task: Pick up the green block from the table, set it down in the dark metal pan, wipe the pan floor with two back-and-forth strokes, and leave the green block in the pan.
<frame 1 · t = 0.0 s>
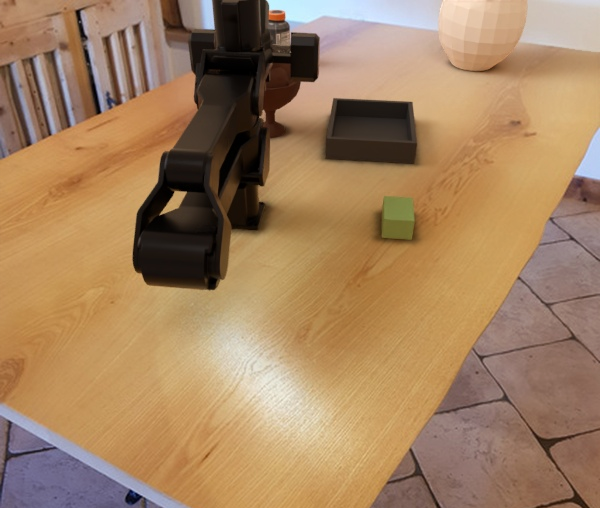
hand: (264, 39, 86), 17 cm above the table, tool horizontal, fingers open, 9 cm apart
pill bottle: (277, 66, 127), on the table
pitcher: (472, 65, 128), on the table
ice cream bowl: (270, 131, 99), on the table
green block: (396, 226, 76), on the table
pan: (370, 138, 97), on the table
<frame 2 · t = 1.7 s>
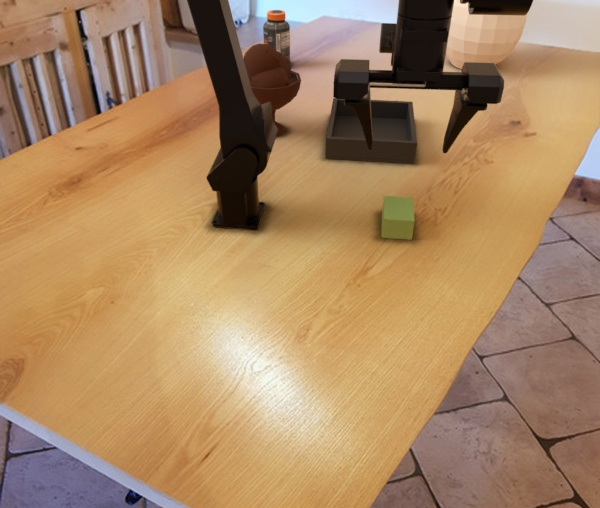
hand: (407, 150, 68), 11 cm above the table, tool pointing down, fingers open, 9 cm apart
nothing on the table moved.
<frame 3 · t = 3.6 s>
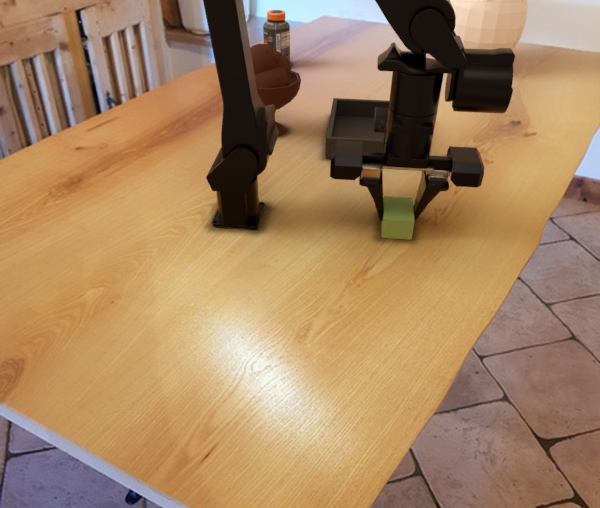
hand: (397, 220, 75), 1 cm above the table, tool pointing down, fingers closed on green block, 4 cm apart
green block: (396, 226, 76), on the table, touching gripper
everything else where it was.
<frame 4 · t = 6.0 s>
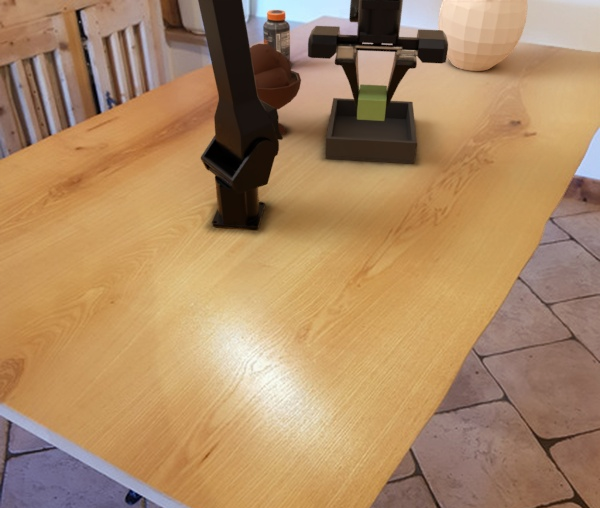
hand: (371, 105, 81), 10 cm above the table, tool pointing down, fingers closed on green block, 4 cm apart
green block: (371, 112, 82), point 9 cm above the table, touching gripper
everything else where it was.
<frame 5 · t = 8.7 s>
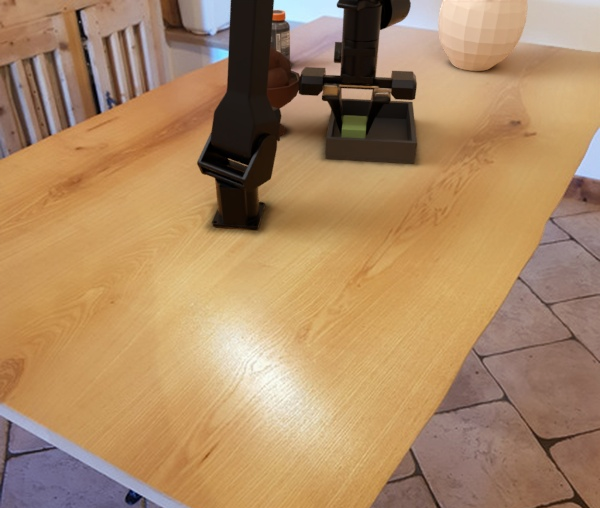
hand: (353, 133, 95), 2 cm above the table, tool pointing down, fingers closed on green block, 4 cm apart
green block: (353, 139, 95), point 1 cm above the table, touching gripper, pan
everything else where it was.
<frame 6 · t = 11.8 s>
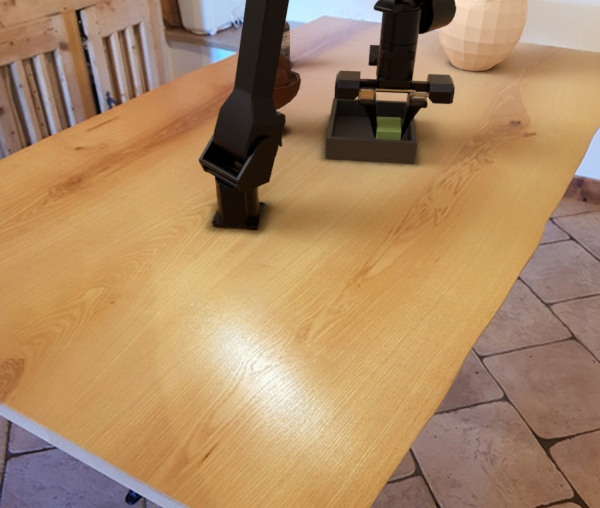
hand: (387, 137, 94), 2 cm above the table, tool pointing down, fingers closed on green block, 4 cm apart
green block: (387, 140, 94), point 1 cm above the table, touching gripper
everything else where it was.
when the fingers open (1 cm above the table, at t = 14.0 s): green block stays where it is, resting on pan.
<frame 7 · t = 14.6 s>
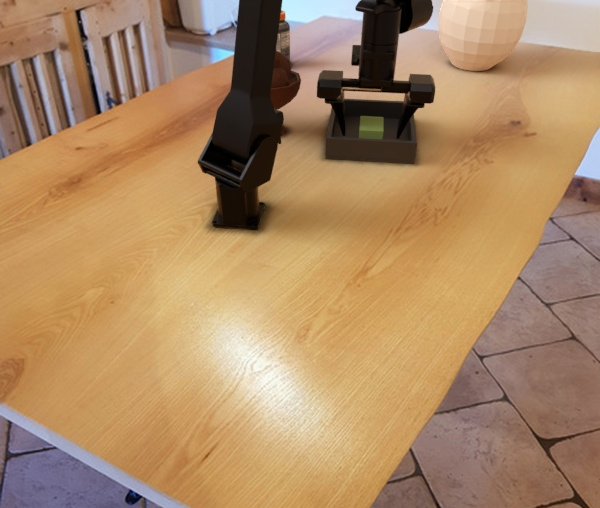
hand: (370, 136, 95), 1 cm above the table, tool pointing down, fingers open, 9 cm apart
green block: (370, 139, 95), point 1 cm above the table, touching pan
everything else where it was.
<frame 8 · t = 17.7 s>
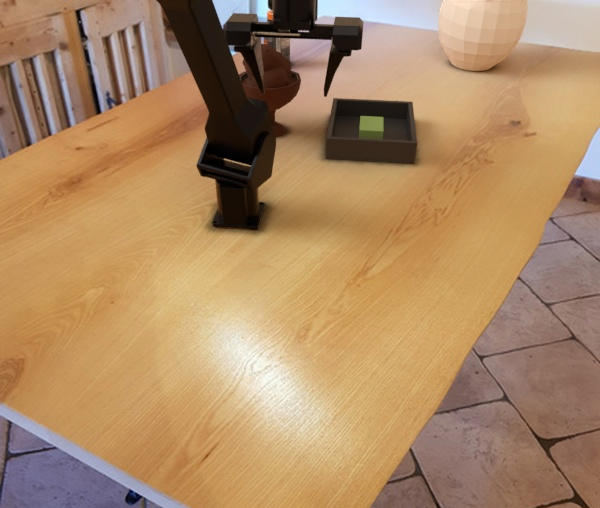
hand: (294, 94, 80), 12 cm above the table, tool pointing down, fingers open, 9 cm apart
nothing on the table moved.
at the end: green block inside the target area in the pan (1.9 cm from its centre), point 0.6 cm above the pan's base; green block moved 26.4 cm from its start; the gripper is holding nothing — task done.
